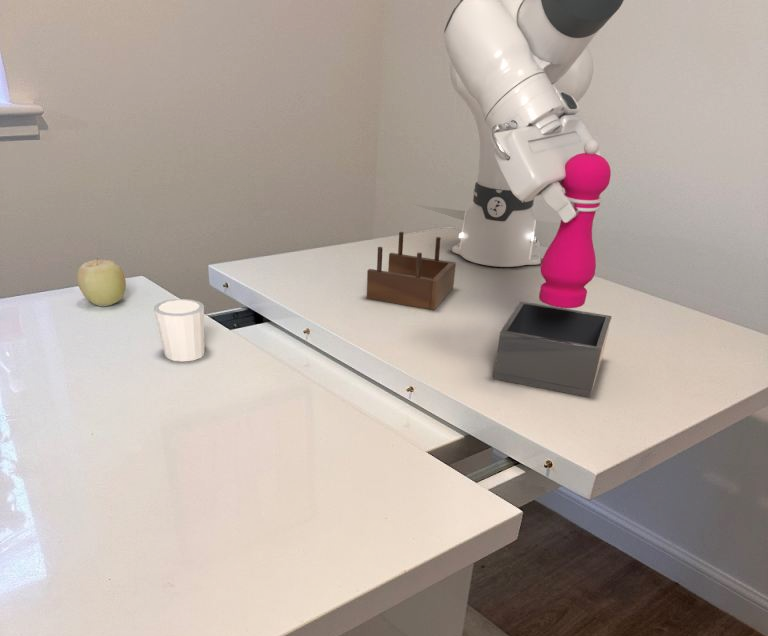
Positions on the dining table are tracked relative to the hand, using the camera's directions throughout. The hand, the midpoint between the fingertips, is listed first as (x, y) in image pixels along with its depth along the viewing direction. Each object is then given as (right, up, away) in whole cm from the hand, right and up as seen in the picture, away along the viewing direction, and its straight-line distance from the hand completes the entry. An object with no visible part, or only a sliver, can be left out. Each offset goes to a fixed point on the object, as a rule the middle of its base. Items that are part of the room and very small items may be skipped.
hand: (583, 214), depth 92 cm
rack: (-21, +1, +37) cm, 43 cm away
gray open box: (-1, -17, +13) cm, 22 cm away
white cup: (-55, -15, +12) cm, 58 cm away
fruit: (-72, -4, +27) cm, 77 cm away
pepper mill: (-1, -9, +7) cm, 12 cm away
